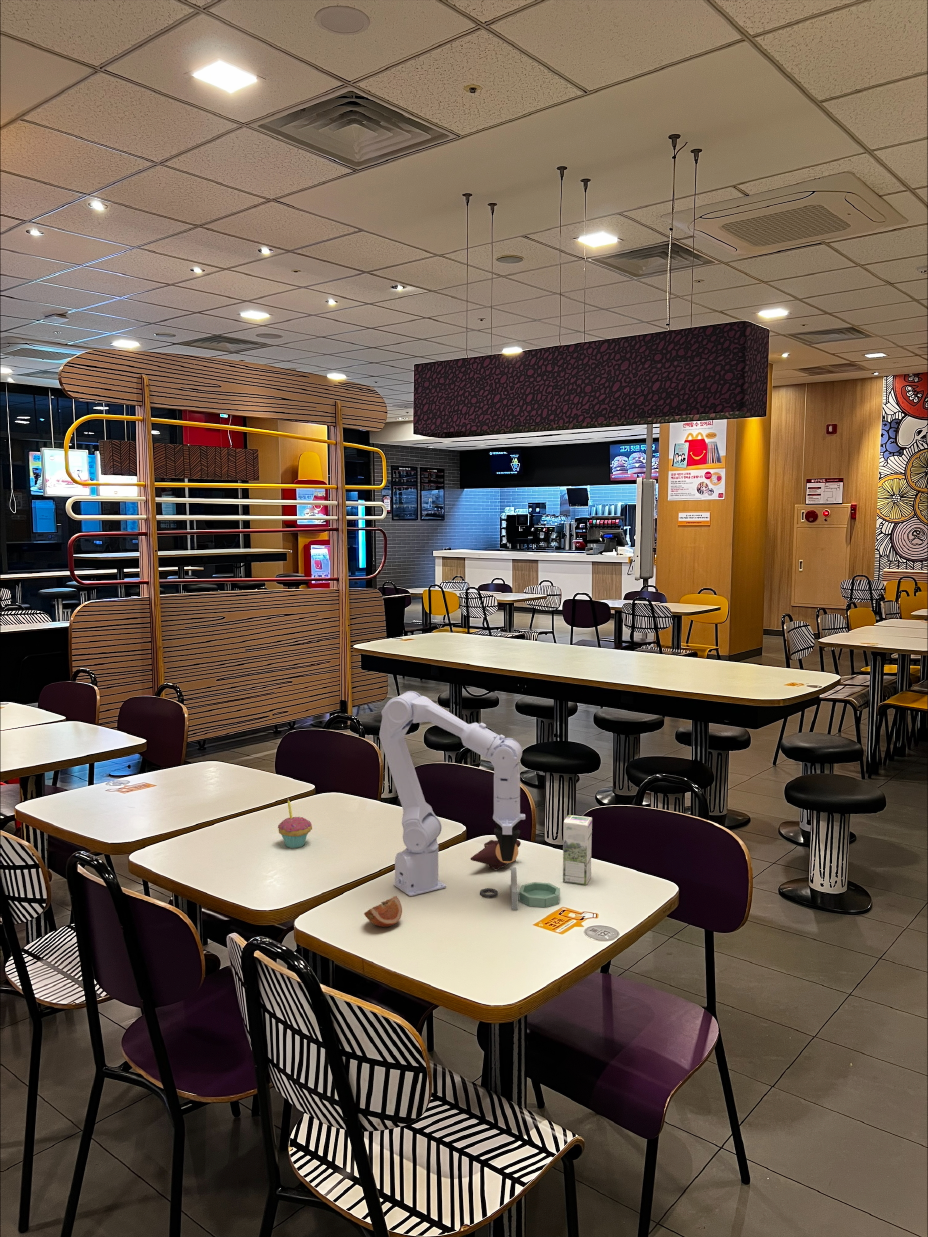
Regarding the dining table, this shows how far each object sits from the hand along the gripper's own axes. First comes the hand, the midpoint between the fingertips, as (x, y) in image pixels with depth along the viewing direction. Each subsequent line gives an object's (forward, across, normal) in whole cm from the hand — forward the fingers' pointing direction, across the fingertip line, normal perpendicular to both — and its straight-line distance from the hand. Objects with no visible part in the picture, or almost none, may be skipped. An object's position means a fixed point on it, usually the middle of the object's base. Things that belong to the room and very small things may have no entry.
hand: (507, 856), depth 194 cm
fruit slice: (+9, -16, +26) cm, 31 cm away
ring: (+9, +1, +4) cm, 10 cm away
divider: (+9, 0, -2) cm, 9 cm away
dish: (+9, -1, -7) cm, 12 cm away
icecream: (+9, +17, +3) cm, 19 cm away
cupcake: (+9, +30, +54) cm, 63 cm away
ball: (-1, 0, 0) cm, 1 cm away
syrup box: (+9, +10, -16) cm, 21 cm away
